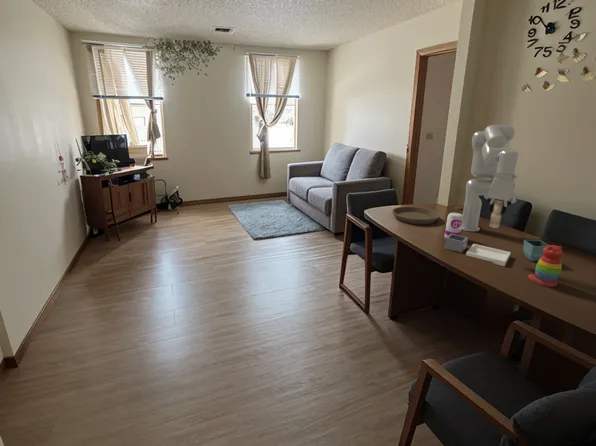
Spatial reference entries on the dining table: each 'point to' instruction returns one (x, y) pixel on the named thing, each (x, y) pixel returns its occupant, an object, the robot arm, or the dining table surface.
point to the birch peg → (496, 213)
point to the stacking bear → (548, 267)
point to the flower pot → (534, 249)
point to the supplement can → (453, 224)
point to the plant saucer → (415, 215)
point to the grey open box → (456, 242)
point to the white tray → (489, 254)
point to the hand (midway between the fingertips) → (497, 212)
